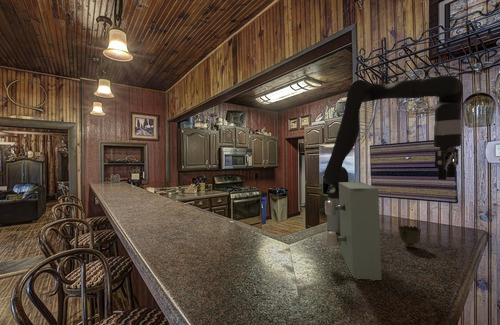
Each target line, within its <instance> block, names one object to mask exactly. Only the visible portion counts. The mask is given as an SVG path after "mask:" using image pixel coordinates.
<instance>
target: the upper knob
mask: <svg viewBox="0 0 500 325" xmlns="http://www.w3.org/2000/svg"><path fill="white" fill-rule="evenodd" d="M336 210H345V206H335V201H328V200H325V201H324V213H325V215H326V216H327V215H335V214H336Z"/></svg>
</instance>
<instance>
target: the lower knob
mask: <svg viewBox="0 0 500 325" xmlns="http://www.w3.org/2000/svg"><path fill="white" fill-rule="evenodd" d="M325 241H326V242H325V243H326V247H338V246H337V245H338V242H340V243H341V242H346V237H341V236H337V233H336V232H332V231H330V230H328V231H325Z"/></svg>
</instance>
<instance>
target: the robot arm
mask: <svg viewBox="0 0 500 325" xmlns="http://www.w3.org/2000/svg"><path fill="white" fill-rule="evenodd" d="M463 93H464V85H463V82H462V80H460V79H459V78H456V77H455V76H452V75H440V76H435V77H434V76H433V77H428V78H418V79H407V80H400V81H395V82H392V83H384V84H383V83H381V84H380V83H372V82H369V81H366V80H362V79H356V80H354V81H352V83H350V86H349V88H348V90H347V94H346V100H345V106H344V111H343V114H342V118H341V121H340V124H339V128H338V131H337V134H336V138H335V142H334V145H333V148H332V151H331V154H330V158H329V161H328V162H327V165H326V166H325V169H324V173H323V178H324V181H325V183H326V184H328V185H330V186H331V185H332V186H331V188H330V190H329V191H328V192H327V201H335V206H339V182H349V173H348V171H347V169H346V168H345V167H344V166H343V164H344V161H345V159H346V158H347V157H348V155H349V153H351V151H353V149H354V147H355V145H356V142H357V140H358V137H359V132H360V119H359V115H360V110H361V107H362V104H363V103H367V102H372V101H378V100H383V99H384V100H386V99H387V100H388V99H422V98H426V97H427V98H429V97H432V98H433V97H438V99H437V100H438V102H437V106H436V107H435V109H434V125H433V147H434V148H439V150H435V152H434V168H437V179H438V180H439V181H446V180H447V177H448V178H455V177H456V168H457V165H459V148H457V147H461V146H462V121H461V105H462V100H463V95H464V94H463ZM455 147H456V148H455ZM326 221H327V222H326V226H327V229H326V230H328V231H331V232H336V234H337V233H338V234H340V210H336V214H335V215H326Z"/></svg>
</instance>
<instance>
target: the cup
mask: <svg viewBox="0 0 500 325" xmlns="http://www.w3.org/2000/svg"><path fill="white" fill-rule="evenodd" d="M398 231H399V236H400V240H401V241H402V242H403V243H404V246H405V247H407V248H409V249H414V248H416V245H417V244H418V243H419V242H420V239H421V231H422V229H421V228H419V227H418V226H416V225H414V226H412V225H410V226H409V225H398Z"/></svg>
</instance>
